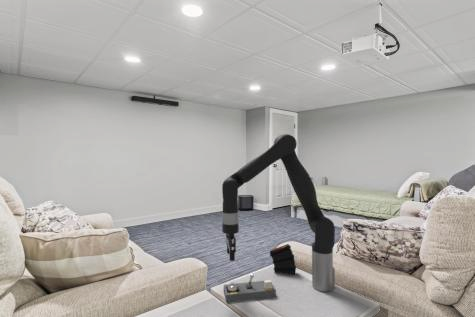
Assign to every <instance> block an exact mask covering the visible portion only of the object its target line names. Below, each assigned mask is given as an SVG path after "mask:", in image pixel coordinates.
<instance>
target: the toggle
mask: <svg viewBox="0 0 475 317" xmlns="http://www.w3.org/2000/svg"><path fill="white" fill-rule="evenodd" d="M254 277H255V276H254V274H253V273H252V274H250V277H249V280H248V282H249V283H248V284H251V282H253V281H252V280H253V278H254Z"/></svg>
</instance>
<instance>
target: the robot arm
mask: <svg viewBox="0 0 475 317" xmlns="http://www.w3.org/2000/svg"><path fill="white" fill-rule="evenodd" d="M296 148H297V140H296V138H295V137H294V136H293V135H291V134H286V133H285V134H281V135H278V136H277V137H275V138H274V141H273V145H272V146H271V147H269V148H268V149H267V150H266V151H265V152H263V153H261V154H260V155H258V156H257V157H255V158H253V159H252V160H250V161H249V162H247V163H246V164H244V166H242V167H241V168H239V169H238V170H237V171H236V172H233V174H231V175H229V176H228V177H227V178H226V179H224V181H223V182H222V185H221V186H222V188H221V189H222V216H221V218H222V220H221V221H222V222H221V223H222V224H221V225H222V227H221V231H222V233H223V234H224V235H225V245H226V254H227V255H229V261H230V262H234V261H235V259H236V252H237V246H236V244H237V240H236V236H235V234H238V233H239V231H240V228H239V227H240V224H239V221H240V219H239V202H238V199H239V198H238V197H239V196H238V195H239V194H238V192H239V188H240V187H242V186H243V185H244V184H246V183H248V182H250V181H252V180H253V179H254V178H256V177H257V176H258V175H259V174H261V173H262V172H264V171H265V170H266V169H267V168H269V167H270V166H272V165H273V164H274V163H276V162H277V161H279V160H281V162H282V164H283V166H284V169H285V170H286V174H287V177H288V179H289V182H290V184H291V186H292V189H293V190H294V193H295V196H296V197H297V199H298V201H299V203H300V205H301V207H302V209H303V211H304V213H305V216H306V219H307V221H308V226H309V228H310V230H311V231H312V232H313V233H314V242H313V243H312V244H311V270H312V271H311V277H312V278H311V281H312V284H311V286H312V287H313V289H315V290H317V291H319V292H322V293H323V292H328V293H329V292H331V291H332V290H334V289H336V286H335V284H336V281H335V280H336V278H335V276H336V271H335V270H336V268H335V267H334V265H333V264H334V263H333V262H334V257H333V255H334V252H333V251H334V250H333V249H334V246H335V240H336V239H335V238H336V237H335V235H336V234H335V233H336V228H335V224H334V221H332V220H331V219H330V218H329V217H327V216H325V215H324V213H323V211H322V210H321V208H320V206H319V204H318V199H317V191H316V188H315V184H314V183H313V180H312V178H311V176H310V173H308V171H307V169H306V168H305V167H304V166H303V164H302V163H301V162H300V160H299V158H298V155H297V153H296Z"/></svg>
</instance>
